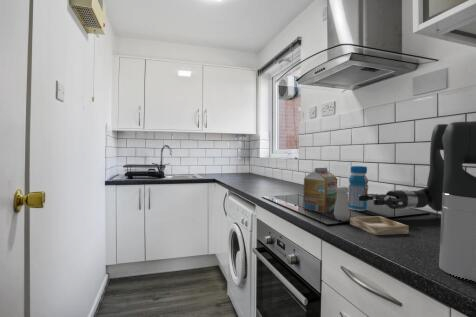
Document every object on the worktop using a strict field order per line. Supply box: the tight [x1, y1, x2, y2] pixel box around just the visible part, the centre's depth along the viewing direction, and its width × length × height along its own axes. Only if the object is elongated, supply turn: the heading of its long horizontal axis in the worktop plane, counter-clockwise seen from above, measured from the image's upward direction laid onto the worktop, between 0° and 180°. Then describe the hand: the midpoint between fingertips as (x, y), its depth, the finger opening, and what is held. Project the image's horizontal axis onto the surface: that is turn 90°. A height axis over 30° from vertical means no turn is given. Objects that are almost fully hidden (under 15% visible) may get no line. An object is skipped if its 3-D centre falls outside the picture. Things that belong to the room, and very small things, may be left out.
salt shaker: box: [333, 185, 351, 222], centre depth 99 cm, size 6×6×13 cm
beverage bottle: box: [347, 165, 369, 212], centre depth 118 cm, size 8×8×20 cm
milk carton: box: [302, 167, 338, 214], centre depth 117 cm, size 11×10×19 cm
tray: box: [349, 215, 410, 236], centre depth 88 cm, size 13×13×2 cm
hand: (366, 200), depth 101 cm, fingers open, 8 cm apart
